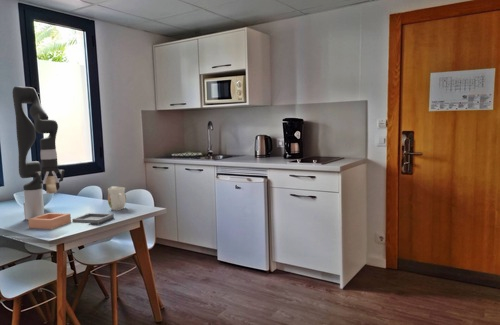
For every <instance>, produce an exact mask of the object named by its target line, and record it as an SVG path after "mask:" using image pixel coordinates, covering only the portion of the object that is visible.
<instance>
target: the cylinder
mask: <svg viewBox="0 0 500 325" xmlns="http://www.w3.org/2000/svg"><path fill="white" fill-rule="evenodd" d="M56 176H57V175H56ZM56 176H47V180H46V183H45V184H46V191H45V192H46V194H57V193H58V190H57V186H56V179H55V177H56Z"/></svg>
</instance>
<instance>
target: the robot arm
mask: <svg viewBox="0 0 500 325" xmlns="http://www.w3.org/2000/svg"><path fill="white" fill-rule="evenodd" d="M12 100H13V106H14V112H15V114H14V115H15V126H16V129H15V130H16V141H17V147H18V148H17V149H18V175H19V177H20V178H21V179H29V178H33V179H32V180H30V181H29V182H27V183H25V184H24V185H23V197H24V202H23V215H24V220H27V221H28V219H31V218H34V217H37V216H40V215H43V214H45V206H44V197H43V191H45V192H46V180H47V176H56V177H55V179H56V186H57V191H58V190H59V189H60V182H63V181H64V175H65V173H66V172H65V169H59V167H58V165H59V164H58V153H57V146H56V140H57V134H58V129H59V125H58V122H57V121H56V120H55V119H49V116H48V113H46V111H45V110H44V108H43V106H42V104H41V100H40V98H39V96H38V92H37V91H36V89H35V88H34V87H31V86H14V87H13V88H12ZM23 104H27V105H28V104H32V105H31V106H30V108H29V115H30V117H31V118H32V120H33V121H34V122H32V120H31V119H30V118H29V116H28V115H27V114H26V113H25V110H24V107H23ZM36 132H37V133H38V134H43V135H44V134H48V136H47V137H44V138H40V139H39V144H40V145H39V146H40V161H37V160H35V161H34V160H33V161H27V157H28V153H29V151H30V150H31V148H32V146H33V145H34V143H35V142H36V139H37V136H36ZM58 173H59V174H60V177H59V178H58V176H57V175H58ZM42 175H43V176H44V177H42ZM42 178H43V180H42Z"/></svg>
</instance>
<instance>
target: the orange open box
mask: <svg viewBox="0 0 500 325" xmlns="http://www.w3.org/2000/svg"><path fill="white" fill-rule="evenodd" d="M71 218H72V217H71V213H65V212H64V213H63V212H61V213H60V212H58V213H57V212H46V213H44V214H43V215H40V216H37V217H34V218H31V219H28V220H27V221H28V228H29V229H47V230H53V229H55V228H58V227H61V226H64V225H66V224H69V223H71V222H72V220H71Z"/></svg>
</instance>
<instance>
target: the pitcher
mask: <svg viewBox="0 0 500 325" xmlns="http://www.w3.org/2000/svg"><path fill="white" fill-rule="evenodd" d="M107 192H108V195H107V203H108V206H109V208H110V210H112V211H121V209H122V210H124V207H125V205H126V202H127V196H126V195H127V194H126V187H123V186H117V185H112V186H110V187H108V188H107Z"/></svg>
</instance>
